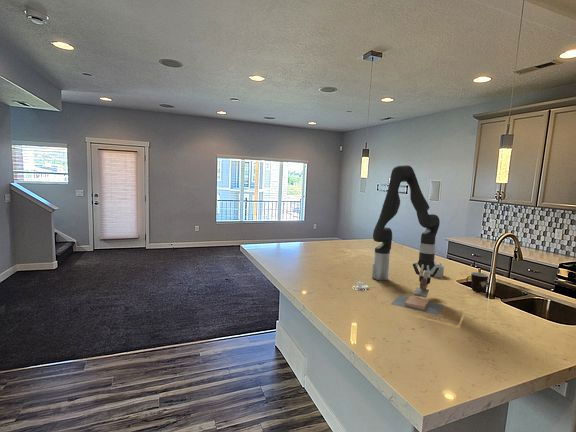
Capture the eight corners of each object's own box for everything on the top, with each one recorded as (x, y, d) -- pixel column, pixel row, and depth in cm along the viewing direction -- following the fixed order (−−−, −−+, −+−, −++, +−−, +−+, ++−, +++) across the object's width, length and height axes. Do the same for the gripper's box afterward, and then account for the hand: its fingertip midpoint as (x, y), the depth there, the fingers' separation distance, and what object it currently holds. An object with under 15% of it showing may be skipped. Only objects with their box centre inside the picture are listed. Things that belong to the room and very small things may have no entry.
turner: (413, 295, 165) (413, 288, 164) (421, 277, 179) (421, 271, 177) (426, 297, 162) (426, 291, 161) (433, 279, 175) (433, 273, 174)
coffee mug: (484, 289, 190) (486, 273, 189) (488, 294, 182) (490, 277, 180) (462, 286, 193) (464, 270, 192) (465, 291, 185) (467, 274, 184)
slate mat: (390, 305, 160) (390, 303, 160) (399, 296, 173) (399, 295, 173) (438, 316, 148) (438, 315, 148) (443, 306, 161) (443, 304, 161)
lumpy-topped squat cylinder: (429, 277, 212) (431, 264, 211) (421, 271, 225) (422, 259, 224) (445, 277, 213) (446, 264, 212) (435, 272, 225) (436, 260, 225)
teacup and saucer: (369, 288, 186) (369, 281, 186) (366, 292, 179) (367, 285, 179) (354, 285, 190) (354, 279, 190) (351, 289, 183) (351, 282, 182)
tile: (410, 299, 167) (404, 305, 158) (410, 296, 167) (405, 302, 158) (428, 303, 162) (424, 310, 153) (429, 300, 162) (424, 306, 153)
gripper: (411, 250, 170) (409, 282, 172) (440, 254, 162) (437, 287, 164) (414, 248, 176) (412, 279, 178) (442, 252, 168) (439, 284, 170)
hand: (424, 283), depth 171 cm, fingers closed on turner, 2 cm apart
